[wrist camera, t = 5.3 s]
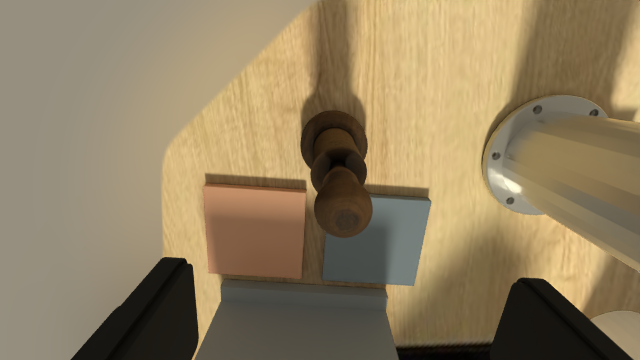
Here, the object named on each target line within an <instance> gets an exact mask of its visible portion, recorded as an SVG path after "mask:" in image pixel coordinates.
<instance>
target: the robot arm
mask: <svg viewBox="0 0 640 360" xmlns="http://www.w3.org/2000/svg"><path fill="white" fill-rule="evenodd" d="M493 153H494V154H493ZM492 154H493V155H492ZM482 171H483V178H484V181H485V184H486V187H487V189H488V190H489V192H490V194H491V195H492V196H493V197H494V198H495V199H496V200H497V201H498V202H499V203H500V204H502V205H503V206H505V207H506V208H508V209H510V210H512V211H514V212H517V213H521V214H525V215H545V214H546V215H547V216H549V217H551V218H552V219H554V220H556V221H557V222H559V223H560V224H562V225H564V226H565V227H567V228H568V229H570V230H572V231H573V232H575V233H577V234H578V235H580V236H581V237H583V238H585V239H586V240H588V241H589V242H591V243H593V244H594V245H596V246H597V247H599V248H601V249H602V250H604V251H606V252H607V253H609V254H610V255H612V256H614V257H615V258H617V259H618V260H620V261H622V262H623V263H625V264H627V265H628V266H630V267H631V268H633V269H635V270H636V271H638V272H639V273H640V123H638V122H631V121H624V120H618V119H611V118H609V117H608V116H607V114H606V113H605V112H604V111H603V109H602V108H601V107H599V106H598V105H597V104H595V103H594V102H592V101H590V100H588V99H585V98H583V97H578V96H572V95H550V96H544V97H541V98H537V99H534V100H532V101H530V102H528V103H526V104H524V105H522V106H520V107H518V108H517V109H516V110H514V111H513V112H511V113H510V114H509V115H508V116H507V117H506V118H505V119H504V120H503V121H502V122H501V123H500V124H499V125H498V127H497V128H496V129H495V131H494V132H493V133H492V135H491V137H490V139H489V141H488V143H487V145H486V149H485V152H484V155H483V163H482ZM198 339H199V334H198V322H197V310H196V298H195V287H194V275H193V266H192V264H187V261H186V259H185V258H172V257H164V258H162V259H161V260H160V261H159V262H158V263H157V264H156V266H155V267H154V268H153V269H152V270H151V271H150V273H149V274H148V275H147V276H146V277H145V278H144V279H143V281H142V282H141V283H140V284H139V285H138V286H137V288H136V289H135V290H134V291H133V292H132V293H131V294H130V295H129V297H128V298H127V299H126V300H125V302H123V304H122V305H121V306H119V307H118V308H116V309H115V310H114V311H113V312H112V313H111V314H110V315H109V317H108V318H107V319H106V320H105V321H104V322H103V323H102V325H101V326H100V327H99V328H98V329H97V330H96V331H95V333H94V334H93V335H92V336H91V337H90V338H89V339H88V340H87V342H86V343H85V344H84V345H83V346H82V347H81V348H80V350H79V351H78V352H77V353H76V354H75V355H74V357H73V358H72V359H71V360H191V359H192V357H193V355H194V353H195V351H196V348H197V345H198ZM490 360H634V359H632V358H631V357H630V356H629V355H628V354H627V353H626V352H625V351H624V350H623V349H621V348H620V347H619V346H618V345H617V344H616V343H615V342H614V341H613V340H611V339H610V338H609V337H608V336H607V335H606V334H605V333H604V332H603V331H601V330H600V329H599V328H598V327H597V326H596V325H595V324H594V323H593V322H592V321H590V320H589V319H588V318H587V317H586V316H585V315H584V314H583V313H582V312H580V311H579V310H578V309H577V308H576V307H575V306H574V305H573V304H572V303H570V302H569V301H568V300H567V299H566V298H565V297H564V296H563V295H562V294H561V293H559V292H558V291H557V290H556V289H555V288H554V287H553V286H552V285H551V284H549V283H548V282H547V281H546V280H544V279H539V278H520V279H518V280H517V282H516V283H514V284H512V286H511V289H510V292H509V295H508V298H507V301H506V304H505V307H504V310H503V313H502V316H501V319H500V322H499V325H498V328H497V331H496V334H495V337H494V340H493V343H492V346H491V349H490Z"/></svg>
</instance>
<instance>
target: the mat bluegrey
mask: <svg viewBox="0 0 640 360" xmlns="http://www.w3.org/2000/svg"><path fill="white" fill-rule="evenodd" d="M369 196H370V198H371V201H372V206H373V213H372V217H371V220H370V222H369V224H368V226H367V227H366V228H365V229H364V230H363V231H362V232H361V233H359V234H357V235H355V236H353V237H349V238H338V237H335V236H332V235H330V234H328V233H327V232H326V236H325V248H324V260H323V272H322V280H327V281H343V282H359V283H375V284H391V285H407V286H414V283H415V278H416V274H417V269H418V264H419V259H420V254H421V249H422V244H423V240H424V235H425V230H426V225H427V220H428V215H429V210H430V206H431V200H430V199H429V198H423V197H408V196H393V195H378V194H369Z"/></svg>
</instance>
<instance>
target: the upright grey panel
mask: <svg viewBox="0 0 640 360" xmlns="http://www.w3.org/2000/svg"><path fill="white" fill-rule="evenodd" d="M387 301H388V295H387V292H386V289H376V288H360V287H344V286H329V285H313V284H297V283H281V282H265V281H249V280H233V279H224V281H223V283H222V285H221V302H220V305H219V307H218V309H217V311H216V313H215V316H214V318H213V320H212V322H211V324H210V327H209V329H208V331H207V333H206V335H205V338H204V340H203V342H202V344H201V346H200V349H199V351H198V353H197V355H196V357H195V360H399V359H398V355H397V351H396V347H395V344H394V340H393V336H392V332H391V329H390V325H389V321H388V317H387V314H386V307H387Z"/></svg>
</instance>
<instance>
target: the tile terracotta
mask: <svg viewBox="0 0 640 360" xmlns="http://www.w3.org/2000/svg"><path fill="white" fill-rule="evenodd" d="M203 192H204V208H205V223H206V239H207V254H208V269H209V273H216V274H232V275H248V276H264V277H280V278H296V279H301V277H302V263H303V245H304V227H305V210H306V192H307V190H303V189H287V188H272V187H257V186H242V185H227V184H212V183H206V184H205V185H204V186H203Z"/></svg>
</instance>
